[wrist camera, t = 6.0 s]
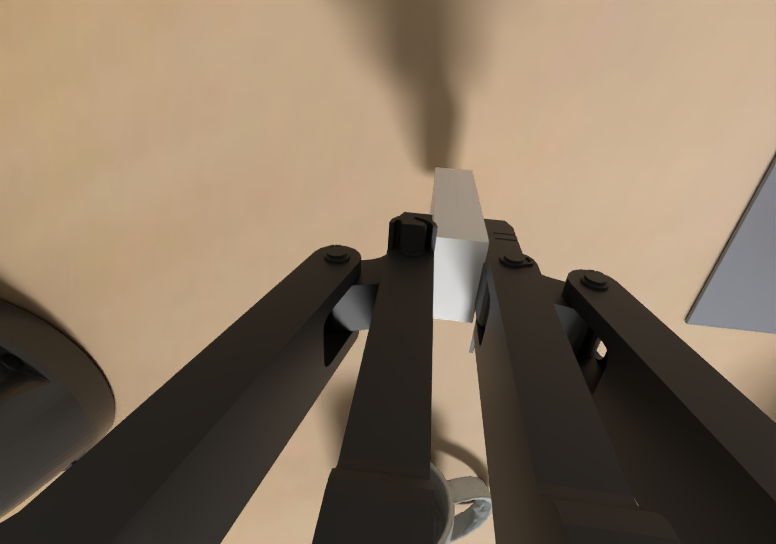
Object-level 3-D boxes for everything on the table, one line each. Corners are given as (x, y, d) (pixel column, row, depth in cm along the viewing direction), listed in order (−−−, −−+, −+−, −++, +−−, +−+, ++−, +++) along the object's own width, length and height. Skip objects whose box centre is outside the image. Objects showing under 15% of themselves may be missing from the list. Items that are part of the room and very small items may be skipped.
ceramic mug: (354, 509, 33) (336, 626, 27) (345, 444, 29) (320, 564, 23) (486, 517, 32) (500, 642, 26) (495, 452, 28) (515, 580, 22)
